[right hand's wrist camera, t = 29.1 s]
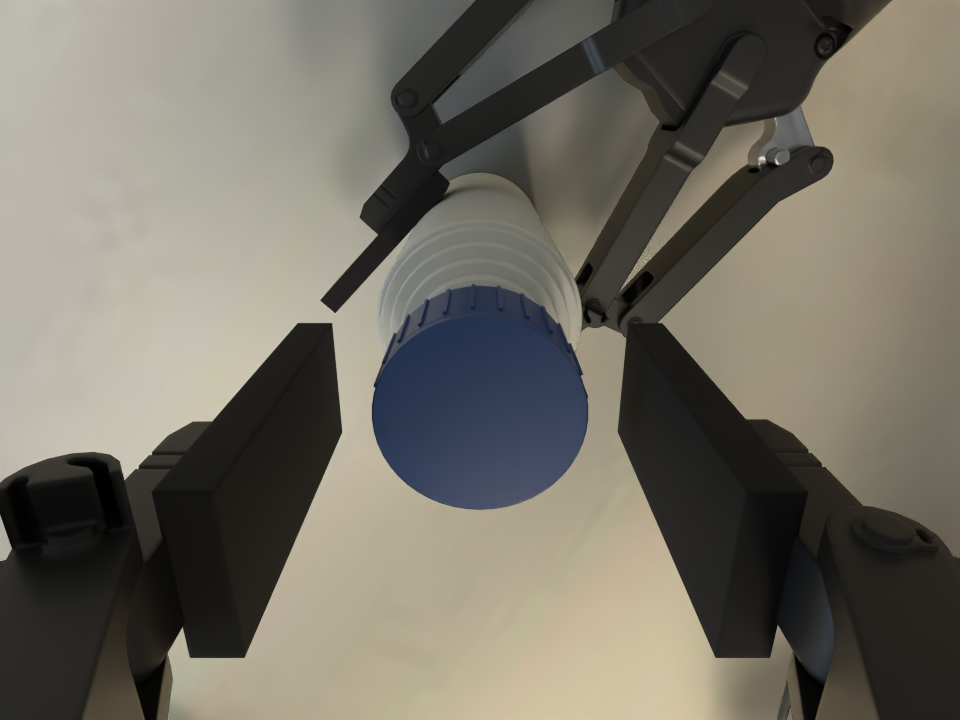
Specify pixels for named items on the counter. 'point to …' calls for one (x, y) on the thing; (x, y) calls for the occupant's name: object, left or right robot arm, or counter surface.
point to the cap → (480, 399)
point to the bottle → (480, 255)
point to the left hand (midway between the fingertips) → (396, 348)
